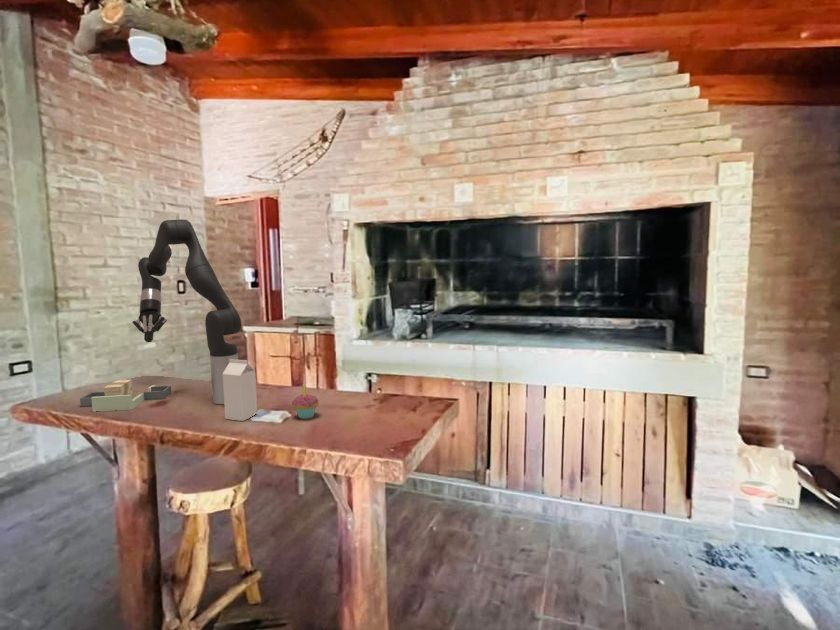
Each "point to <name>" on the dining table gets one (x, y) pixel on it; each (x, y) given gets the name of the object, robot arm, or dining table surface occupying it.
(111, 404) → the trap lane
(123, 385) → the beech block
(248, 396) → the milk carton
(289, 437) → the dining table surface
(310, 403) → the cupcake
